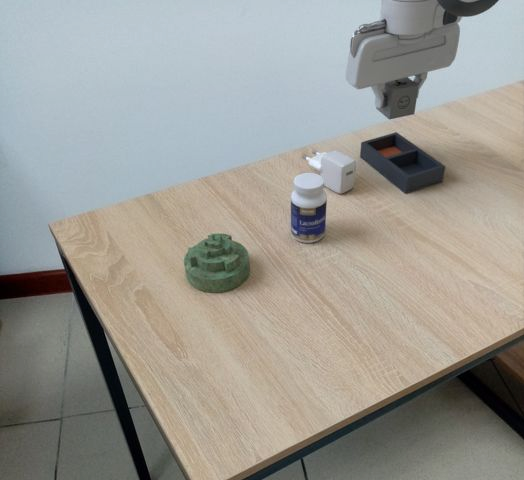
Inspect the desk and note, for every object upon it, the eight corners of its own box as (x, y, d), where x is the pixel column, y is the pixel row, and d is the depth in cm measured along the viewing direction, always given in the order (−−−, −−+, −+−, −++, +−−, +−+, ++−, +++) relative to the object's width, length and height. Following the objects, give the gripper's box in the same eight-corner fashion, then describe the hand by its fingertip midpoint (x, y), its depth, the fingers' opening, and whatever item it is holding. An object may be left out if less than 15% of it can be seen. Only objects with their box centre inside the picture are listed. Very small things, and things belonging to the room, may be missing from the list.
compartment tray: (394, 147, 107) (396, 132, 105) (442, 181, 97) (445, 166, 95) (359, 157, 105) (361, 142, 103) (405, 193, 95) (407, 178, 93)
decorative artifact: (187, 255, 87) (186, 295, 80) (179, 218, 81) (178, 258, 75) (247, 249, 87) (252, 289, 80) (244, 212, 82) (248, 251, 75)
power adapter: (298, 174, 102) (297, 145, 97) (316, 165, 104) (317, 136, 99) (338, 197, 96) (340, 167, 91) (357, 187, 97) (360, 157, 93)
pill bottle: (300, 248, 86) (300, 193, 79) (285, 229, 90) (283, 176, 82) (331, 238, 88) (334, 183, 80) (315, 220, 91) (316, 167, 84)
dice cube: (389, 119, 94) (392, 90, 90) (376, 108, 97) (379, 80, 94) (414, 114, 95) (418, 85, 91) (400, 103, 98) (404, 75, 95)
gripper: (362, 32, 80) (355, 122, 91) (472, 8, 85) (453, 96, 96) (341, 21, 84) (337, 109, 95) (447, -2, 89) (432, 84, 100)
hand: (396, 102), depth 95 cm, fingers closed on dice cube, 5 cm apart
